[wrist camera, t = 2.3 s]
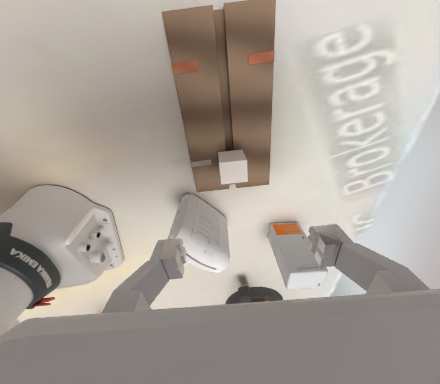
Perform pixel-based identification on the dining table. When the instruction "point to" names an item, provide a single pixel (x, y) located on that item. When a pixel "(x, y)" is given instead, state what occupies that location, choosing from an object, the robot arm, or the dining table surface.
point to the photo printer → (201, 234)
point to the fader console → (224, 85)
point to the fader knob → (233, 167)
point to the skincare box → (295, 257)
